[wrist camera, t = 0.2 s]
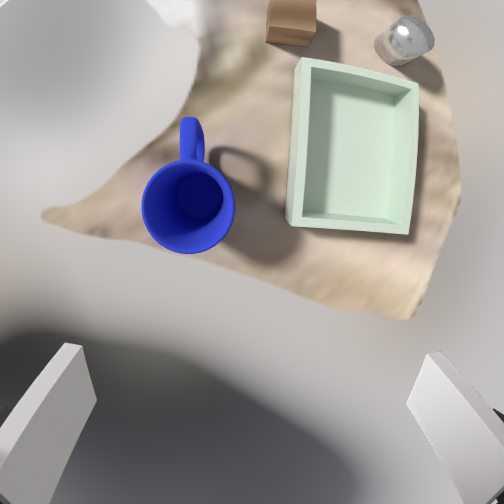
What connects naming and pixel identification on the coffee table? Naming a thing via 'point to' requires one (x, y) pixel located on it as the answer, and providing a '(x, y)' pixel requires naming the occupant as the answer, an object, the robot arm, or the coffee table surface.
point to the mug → (188, 198)
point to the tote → (351, 148)
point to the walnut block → (291, 22)
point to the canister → (404, 41)
